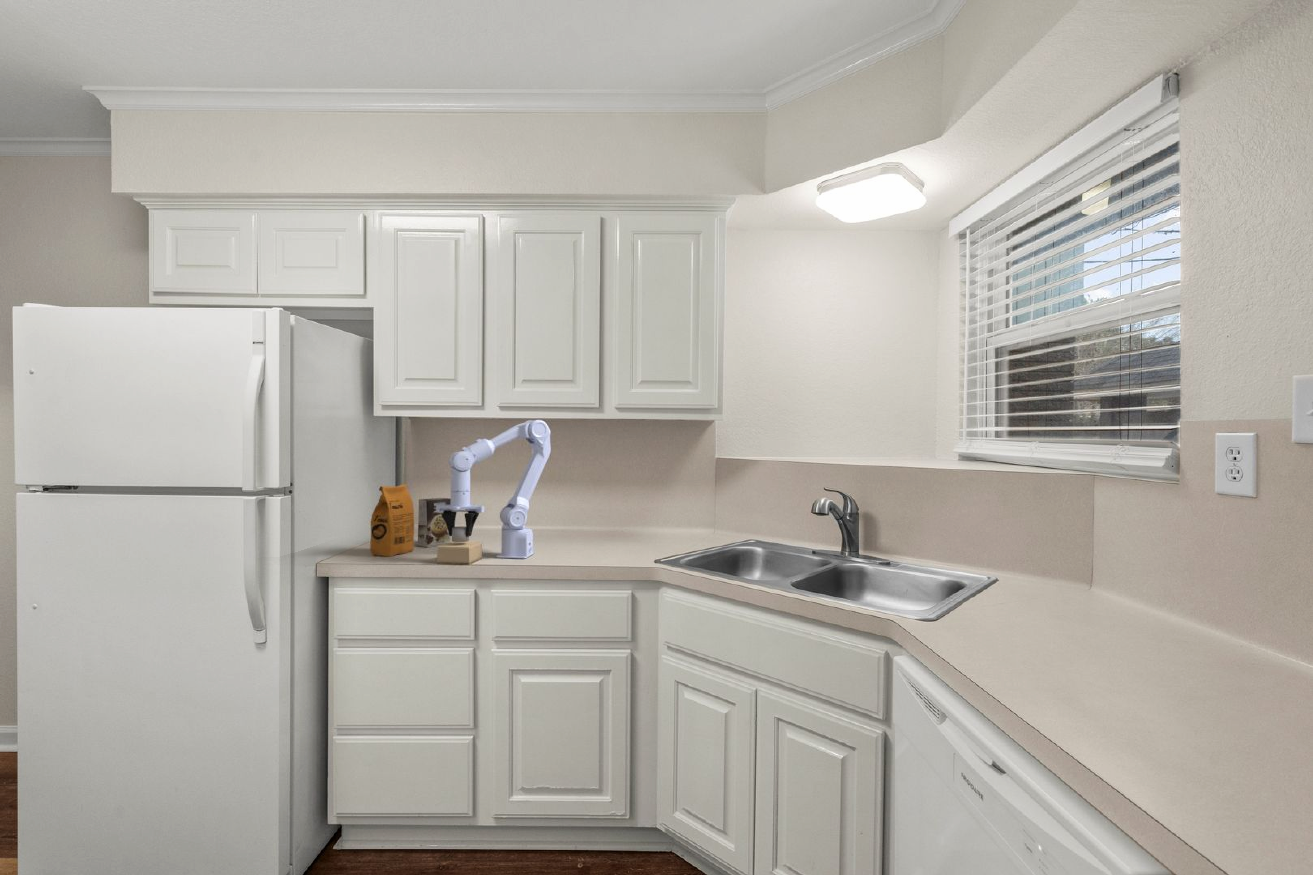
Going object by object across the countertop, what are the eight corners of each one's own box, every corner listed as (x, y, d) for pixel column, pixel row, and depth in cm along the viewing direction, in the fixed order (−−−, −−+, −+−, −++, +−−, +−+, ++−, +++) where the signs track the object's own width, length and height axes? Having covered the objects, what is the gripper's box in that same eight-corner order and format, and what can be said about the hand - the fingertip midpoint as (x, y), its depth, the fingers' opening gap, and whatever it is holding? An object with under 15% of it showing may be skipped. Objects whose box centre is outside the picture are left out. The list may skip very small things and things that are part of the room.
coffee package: (364, 555, 190) (365, 486, 190) (395, 548, 202) (395, 483, 202) (388, 558, 187) (389, 487, 187) (418, 551, 198) (418, 484, 198)
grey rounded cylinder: (470, 539, 186) (470, 526, 186) (467, 542, 181) (467, 528, 181) (453, 539, 185) (453, 525, 185) (449, 541, 180) (450, 528, 180)
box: (481, 558, 187) (482, 544, 187) (469, 564, 178) (469, 549, 178) (451, 557, 188) (451, 543, 188) (437, 563, 179) (437, 548, 179)
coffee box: (427, 547, 204) (428, 500, 204) (417, 545, 208) (417, 499, 208) (451, 544, 211) (451, 498, 211) (440, 542, 215) (441, 497, 215)
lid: (482, 543, 187) (482, 542, 187) (469, 549, 178) (469, 547, 177) (451, 542, 188) (451, 541, 188) (436, 548, 179) (436, 546, 179)
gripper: (431, 491, 180) (431, 537, 180) (477, 492, 178) (477, 538, 178) (442, 489, 187) (442, 533, 187) (487, 490, 185) (487, 534, 185)
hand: (460, 535), depth 183 cm, fingers closed on grey rounded cylinder, 5 cm apart
